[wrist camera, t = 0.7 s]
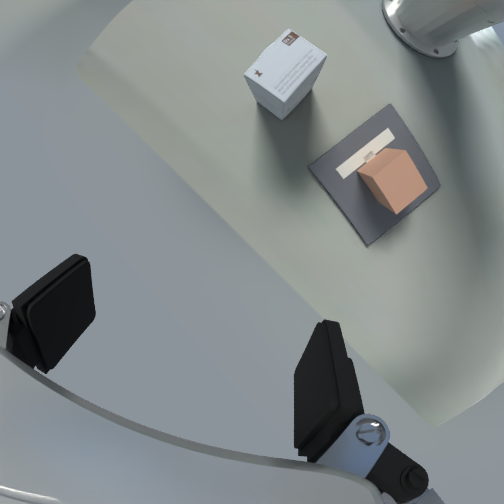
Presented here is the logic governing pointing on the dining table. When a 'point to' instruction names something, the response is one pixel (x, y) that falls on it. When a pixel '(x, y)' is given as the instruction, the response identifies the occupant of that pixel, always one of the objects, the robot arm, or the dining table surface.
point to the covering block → (393, 179)
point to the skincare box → (285, 73)
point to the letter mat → (358, 154)
